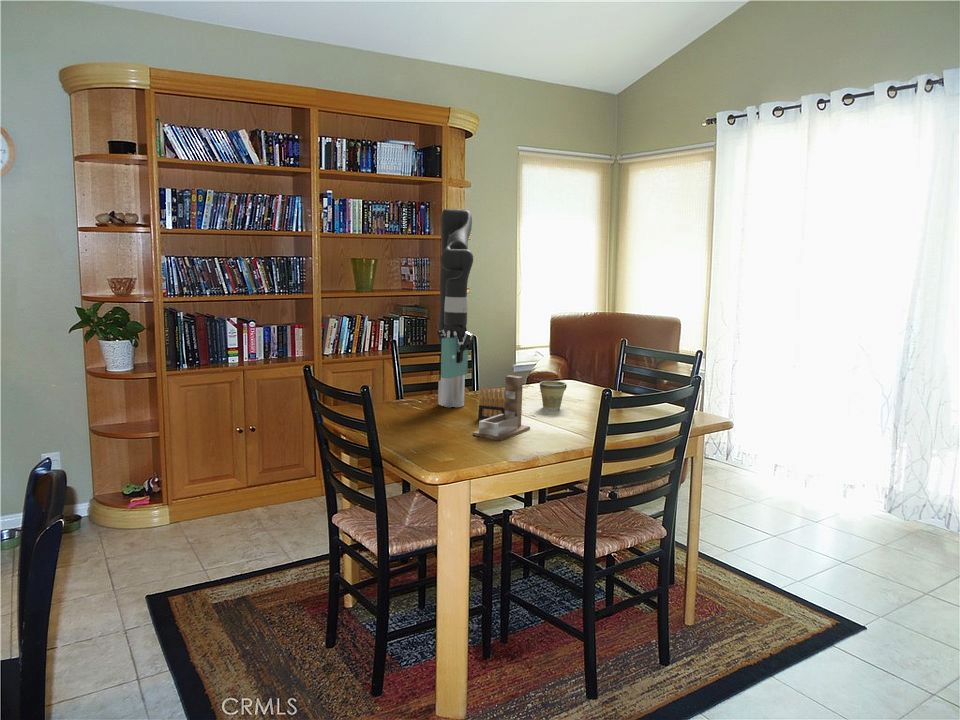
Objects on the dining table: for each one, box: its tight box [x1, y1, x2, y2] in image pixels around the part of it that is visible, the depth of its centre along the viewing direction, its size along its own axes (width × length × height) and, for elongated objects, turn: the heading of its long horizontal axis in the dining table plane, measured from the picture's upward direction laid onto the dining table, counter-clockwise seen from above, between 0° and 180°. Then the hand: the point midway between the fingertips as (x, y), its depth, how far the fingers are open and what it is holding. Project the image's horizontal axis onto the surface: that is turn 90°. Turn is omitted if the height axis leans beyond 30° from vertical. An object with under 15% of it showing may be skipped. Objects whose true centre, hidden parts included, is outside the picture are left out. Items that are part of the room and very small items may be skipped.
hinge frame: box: [471, 375, 531, 442], centre depth 245 cm, size 11×19×18 cm, turn 147°
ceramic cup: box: [539, 380, 567, 411], centre depth 285 cm, size 13×10×10 cm
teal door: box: [440, 336, 469, 379], centre depth 244 cm, size 4×11×13 cm, turn 147°
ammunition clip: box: [477, 385, 505, 420], centre depth 263 cm, size 11×2×12 cm, turn 71°
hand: (454, 362), depth 244 cm, fingers closed on teal door, 3 cm apart
